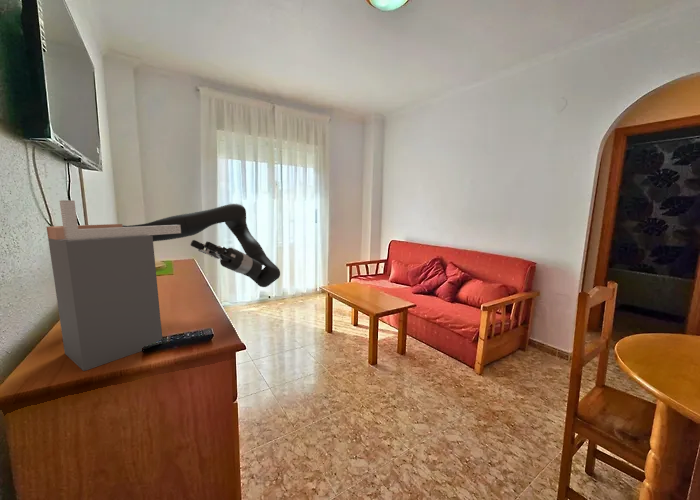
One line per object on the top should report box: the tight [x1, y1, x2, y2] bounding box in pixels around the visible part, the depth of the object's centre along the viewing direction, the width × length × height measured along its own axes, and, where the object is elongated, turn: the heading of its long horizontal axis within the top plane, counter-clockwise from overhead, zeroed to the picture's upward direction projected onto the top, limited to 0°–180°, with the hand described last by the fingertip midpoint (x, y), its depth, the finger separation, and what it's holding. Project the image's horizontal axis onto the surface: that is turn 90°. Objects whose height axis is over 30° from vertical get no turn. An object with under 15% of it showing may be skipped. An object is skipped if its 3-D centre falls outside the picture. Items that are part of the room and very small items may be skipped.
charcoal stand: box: [46, 223, 163, 372], centre depth 82 cm, size 16×18×35 cm
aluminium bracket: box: [59, 199, 181, 241], centre depth 81 cm, size 3×26×10 cm, turn 146°
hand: (198, 243), depth 98 cm, fingers open, 8 cm apart
